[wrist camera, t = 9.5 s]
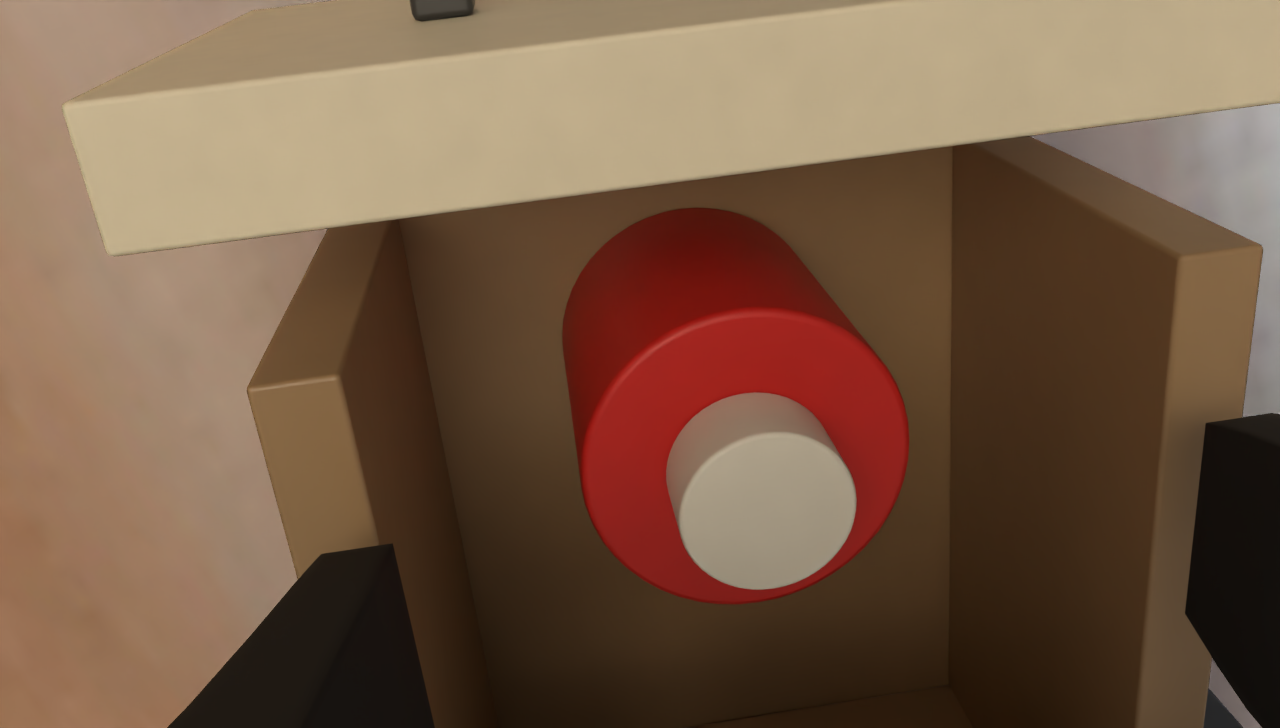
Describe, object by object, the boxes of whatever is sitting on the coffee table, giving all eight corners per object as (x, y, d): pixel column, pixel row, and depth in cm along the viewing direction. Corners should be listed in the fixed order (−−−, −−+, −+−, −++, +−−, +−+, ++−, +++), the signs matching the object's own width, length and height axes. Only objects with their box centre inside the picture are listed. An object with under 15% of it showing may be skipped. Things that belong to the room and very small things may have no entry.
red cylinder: (724, 152, 15) (824, 271, 10) (863, 350, 16) (1009, 534, 11) (508, 311, 15) (511, 494, 11) (660, 491, 17) (721, 720, 12)
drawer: (156, -383, 13) (-177, -648, 6) (1044, -471, 13) (1519, -784, 7) (425, 759, 19) (389, 1170, 13) (1006, 664, 20) (1233, 1014, 14)
